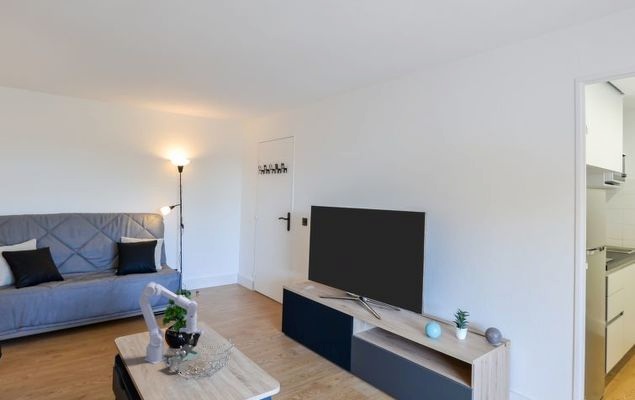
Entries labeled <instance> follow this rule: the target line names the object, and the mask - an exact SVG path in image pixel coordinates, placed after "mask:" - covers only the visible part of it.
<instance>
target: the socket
mask: <svg viewBox="0 0 635 400" xmlns="http://www.w3.org/2000/svg"><path fill="white" fill-rule="evenodd" d="M169 358H170V360H169V362H168V366H169V367H168V369H169V371H172V370H174V369H173V368H175V367H177V373H180V372H182V373H184V372H186V371H185V370H187V371H188V369H189V368H190V367H189V366H190V365H189V362H190V361H189V360H188V359H187V360H185V361H183V360H181V359H180V356H178V357H174V356H172V357H169ZM175 369H176V368H175ZM183 371H184V372H183ZM180 374H181V373H180Z"/></svg>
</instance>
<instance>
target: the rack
mask: <svg viewBox="0 0 635 400" xmlns="http://www.w3.org/2000/svg"><path fill="white" fill-rule="evenodd" d="M178 356H180V353H179V354H176V355H174V356H173V357H178ZM200 357H201V353H200V352H199V351H197V350H194V349H192V350H191V351H190V352H189V354H188V355H186V356H184V357H182V356H180V359H181V360H183V361H185V360H187V359H188V360H189V362H191V361H192V360H194V359H196V358H200ZM170 358H171V357H169V358H167V363H169V360H170Z"/></svg>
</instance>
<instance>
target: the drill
mask: <svg viewBox="0 0 635 400" xmlns="http://www.w3.org/2000/svg"><path fill="white" fill-rule="evenodd" d="M194 348H195V347H194V340H193V338H191V339H190V338H189V341H188V342H187V344H186V345H185V344H184V345H183V347H181V349H180V351H179V354H180V356H182V357H184V356H186V355H188V354H189V352H190V351H191V350H194Z"/></svg>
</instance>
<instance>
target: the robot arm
mask: <svg viewBox="0 0 635 400" xmlns="http://www.w3.org/2000/svg"><path fill="white" fill-rule="evenodd" d="M154 295H155V297H156V296H160V295H162V296H164V297H165V298H168V299H169V300H171V301H173V302H174V304H175V305H177V306H178V307H180V308H182V309H184V310H186V320H185V321H186V325H185V326H186V327H181V328H179V333H182V334H181V337H182V338H183V341H184V346H185V345H186V344H187V342H188V341H189V340H190V334H193V335H192V339H193V340H194V348H195V347H197V346H198V345H197V344H198V343H199V339H200V338H201V336H203V335H204V330H202V329H199V328H197V327H198V326H197V325H198V324H197V323H198V314H197V313H198V303H197V301H196V300H194V299H192V298H190V299H189V298H188V297H186V295H185V294H176V293H174V292H172V291H171V290H169V289H168V288H166V287H164V286H163V285H161V284H159V283H157V282H156V281H149V282H148V283H147V284H146V285H145V286H144V288H143V289H142V290H141V292H140V295H139V300H138V303H139V304H138V305H139V307H140V310H141V312H142V315H143V318H144V321H145V323H146V324H145V325H146V326H147V329H148V332H149V333H148V334H149V343H148V344H147V345H146V348H145V358H144V361H146V362H148V363H150V364H153V365H156V364H158V363H160V362H163V361H165V360H168V358H167V357H165V356H164V348H165V344H164V343H165V342H164V340H163V339H164V335H165V333H164V331H163V330H161V328H160V326H159V324H158V323H157V319H156V317H155V314H154V311H153V309H152V305H151V302H150V300H151V298H152V297H153V296H154Z"/></svg>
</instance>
